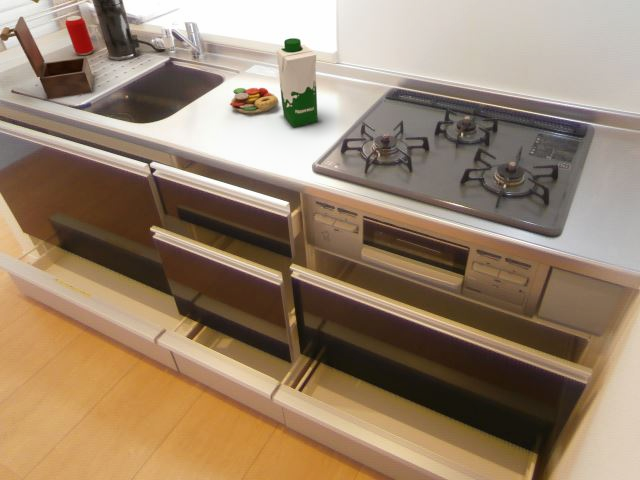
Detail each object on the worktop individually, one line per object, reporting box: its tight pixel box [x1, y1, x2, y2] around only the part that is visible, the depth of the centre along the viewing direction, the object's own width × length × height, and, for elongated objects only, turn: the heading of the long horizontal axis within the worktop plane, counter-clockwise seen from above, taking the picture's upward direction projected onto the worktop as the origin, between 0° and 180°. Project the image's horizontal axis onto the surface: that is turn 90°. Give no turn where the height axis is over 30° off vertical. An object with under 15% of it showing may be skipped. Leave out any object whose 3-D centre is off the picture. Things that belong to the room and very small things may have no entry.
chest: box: [39, 56, 94, 100], centre depth 155 cm, size 13×13×6 cm
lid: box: [0, 16, 46, 78], centre depth 147 cm, size 13×13×6 cm
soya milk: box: [276, 37, 319, 128], centre depth 129 cm, size 9×9×20 cm
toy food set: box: [229, 87, 279, 115], centre depth 141 cm, size 13×13×3 cm
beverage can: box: [65, 15, 94, 56], centre depth 176 cm, size 6×6×12 cm
